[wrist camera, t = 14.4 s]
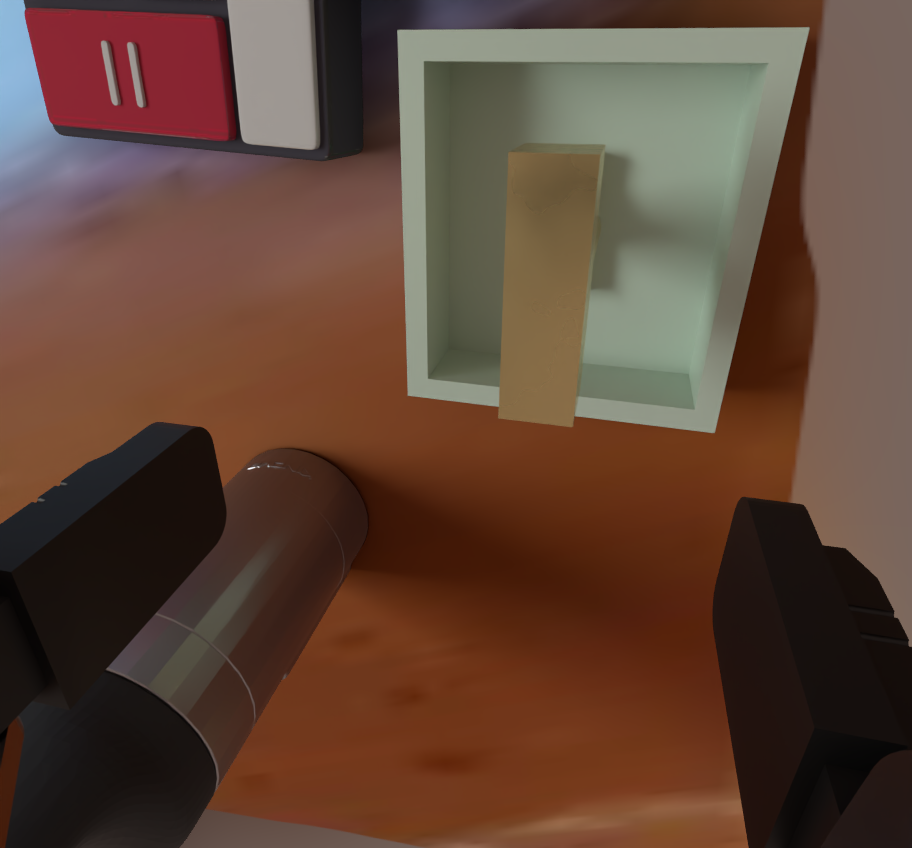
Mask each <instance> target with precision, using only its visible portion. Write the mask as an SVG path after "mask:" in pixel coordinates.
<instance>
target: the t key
mask: <svg viewBox="0 0 912 848" xmlns="http://www.w3.org/2000/svg"><path fill="white" fill-rule="evenodd" d="M605 147H606V145H603V144H559V143H524V144H522V145H521V146H519V147H517V148H515V149H513V150H511V151H509V152H508V176H507V203H506V230H505V256H504V283H503V309H502V336H501V363H500V389H499V416H498V418H500V419H509V420H517V421H525V422H534V423H542V424H551V425H559V426H568V427H573V423H574V418H575V413H576V408H577V403H578V397H579V392H580V386H581V377H582V367H583V357H584V348H585V338H586V329H587V319H588V310H589V300H590V290H591V281H592V271H593V262H594V256H595V253H596V249H597V245H598V241H599V237H600V233H601V221H600V218H599V216H598V214H599V204H600V195H601V185H602V175H603V166H604V156H605Z"/></svg>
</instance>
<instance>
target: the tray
mask: <svg viewBox="0 0 912 848" xmlns="http://www.w3.org/2000/svg"><path fill="white" fill-rule="evenodd" d="M809 28H810V27H801V28H631V29H462V30H397V35H398V69H399V103H400V138H401V172H402V207H403V241H404V275H405V310H406V344H407V379H408V396H416V397H424V398H432V399H440V400H449V401H457V402H465V403H473V404H481V405H489V406H498V407H499V389H500V363H501V336H502V309H503V283H504V256H505V230H506V203H507V176H508V152H509V151H511V150H513V149H515V148H517V147H519V146H521V145H522V144H524V143H559V144H603V145H606V147H605V156H604V166H603V175H602V185H601V195H600V204H599V214H598V216H599V218H600V221H601V233H600V237H599V241H598V245H597V249H596V253H595V256H594V262H593V271H592V281H591V290H590V300H589V310H588V319H587V329H586V338H585V348H584V357H583V367H582V377H581V386H580V392H579V397H578V403H577V408H576V413H575V416H579V417H587V418H595V419H604V420H612V421H620V422H628V423H636V424H644V425H653V426H661V427H669V428H677V429H685V430H693V431H702V432H710V433H715V429H716V424H717V420H718V416H719V412H720V407H721V403H722V399H723V395H724V390H725V386H726V382H727V378H728V373H729V369H730V365H731V360H732V356H733V352H734V348H735V343H736V339H737V335H738V331H739V326H740V322H741V318H742V314H743V309H744V305H745V301H746V297H747V292H748V288H749V284H750V280H751V275H752V271H753V267H754V262H755V258H756V254H757V250H758V245H759V241H760V237H761V233H762V228H763V224H764V220H765V216H766V211H767V207H768V203H769V199H770V194H771V190H772V186H773V182H774V177H775V173H776V169H777V164H778V160H779V156H780V152H781V147H782V143H783V139H784V135H785V130H786V126H787V122H788V118H789V113H790V109H791V105H792V101H793V96H794V92H795V88H796V84H797V79H798V75H799V71H800V66H801V62H802V58H803V54H804V49H805V45H806V41H807V37H808V32H809Z"/></svg>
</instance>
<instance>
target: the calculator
mask: <svg viewBox="0 0 912 848" xmlns="http://www.w3.org/2000/svg"><path fill="white" fill-rule="evenodd" d="M24 4H25V8H26V10H25V19H26V24H27V28H28V32H29V37H30V41H31V45H32V49H33V54H34V58H35V62H36V66H37V71H38V75H39V79H40V83H41V88H42V92H43V96H44V101H45V105H46V109H47V113H48V117H49V120H50V122H51V123H52V124H53V127H54V129H55V130H56V131H57V132H58V133H59V134H61V135H64V136H73V137H83V138H94V139H104V140H114V141H124V142H134V143H144V144H154V145H164V146H174V147H184V148H195V149H205V150H215V151H225V152H235V153H245V154H255V155H265V156H275V157H286V158H296V159H306V160H316V161H327V160H332V159H337V158H342V157H346V156H351V155H355V154H358V153H360V152H361V151H362V148H363V98H362V44H361V0H24Z"/></svg>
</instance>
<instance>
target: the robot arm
mask: <svg viewBox="0 0 912 848" xmlns="http://www.w3.org/2000/svg"><path fill="white" fill-rule="evenodd" d="M367 531H368V515H367V512H366V508H365V505H364V502H363V500H362V498H361V496H360V494H359V492H358V491H357V489H356V488H355V487H354V485H353V484H352V483H351V481H350V480H349V479H348V478H347V477H346V476H345V475H344V474H343V473H342V472H341V471H340V470H338V469H337V468H336V467H335V466H333V465H332V464H330V463H329V462H327V461H325V460H324V459H322V458H320V457H317V456H315V455H313V454H311V453H308V452H304V451H300V450H295V449H275V450H269V451H266V452H264V453H262V454H259V455H257V456H256V457H255V458H253V459H252V460H251V461H250V462H249V463H248V464H247V465H246V466H245V467H243V468H242V469H241V470H240V471H239V472H238V473H237V474H236V475H235V476H234V477H233V478H232V479H231V480H230V481H229V482H228V483H227V484H226V485H225V486H224V487H223V488H222V483H221V478H220V473H219V469H218V464H217V459H216V454H215V449H214V444H213V440H212V438H211V435H210V434H209V432H208V431H207V430H206V429H204V428H202V427H196V426H188V425H180V424H172V423H164V422H156V423H153V424H151V425H149V426H148V427H146V428H145V429H144V430H142V431H141V432H139V433H138V434H137V435H135V436H134V437H132V438H131V439H130V440H128V441H127V442H125V443H124V444H123V445H121V446H120V447H119V448H117V449H116V450H114V451H113V452H111V453H109V454H107V455H104V456H102V457H100V458H97V459H95V460H93V461H91V462H88V463H87V464H85V465H84V466H82V467H81V468H80V469H78V470H77V471H75V472H74V473H72V474H71V475H70V476H68V477H67V478H65V479H64V480H62V481H61V484H60V486H54V487H53V488H51V489H50V490H48V491H47V492H45V493H44V494H43V495H41V496H40V497H38V501H37V503H34V502H31V503H30V504H28V505H27V506H26V507H24V508H23V509H21V510H20V511H18V512H17V513H16V514H14V515H13V516H11V517H10V518H9V519H7V520H6V521H4V522H3V523H1V524H0V848H179V847H180V846H181V845H182V844H183V843H184V841H185V840H186V839H187V837H188V836H189V834H190V833H191V831H192V830H193V828H194V827H195V825H196V823H197V822H198V820H199V818H200V817H201V815H202V813H203V811H204V810H205V808H206V807H207V805H208V803H209V802H210V800H211V798H212V797H213V795H214V792H215V791H216V789H217V788H218V786H219V785H220V783H221V781H222V779H223V778H224V776H225V774H226V773H227V771H228V769H229V768H230V766H231V764H232V763H233V761H234V759H235V758H236V756H237V754H238V753H239V751H240V749H241V748H242V746H243V744H244V743H245V741H246V739H247V738H248V736H249V734H250V733H251V731H252V729H253V727H254V725H255V724H256V722H257V720H258V719H259V717H260V715H261V714H262V712H263V710H264V709H265V707H266V705H267V704H268V702H269V700H270V699H271V697H272V695H273V694H274V692H275V690H276V689H277V687H278V685H279V684H280V682H281V680H283V679H284V678H286V677H287V676H288V675H289V673H290V671H291V670H292V668H293V666H294V664H295V663H296V661H297V659H298V658H299V656H300V654H301V653H302V651H303V649H304V648H305V646H306V644H307V643H308V641H309V639H310V637H311V636H312V634H313V632H314V631H315V629H316V627H317V626H318V624H319V622H320V621H321V619H322V617H323V615H324V614H325V612H326V610H327V609H328V607H329V605H330V604H331V602H332V600H333V599H334V597H335V595H336V594H337V592H338V590H339V588H340V587H341V585H342V583H343V582H344V580H345V578H346V577H347V575H348V573H349V572H350V570H351V564H352V562H353V560H354V559H355V557H356V555H357V554H358V552H359V550H360V549H361V547H362V545H363V543H364V541H365V539H366V535H367ZM713 630H714V636H715V643H716V649H717V655H718V661H719V667H720V673H721V680H722V686H723V692H724V698H725V704H726V710H727V717H728V723H729V729H730V735H731V741H732V747H733V753H734V760H735V766H736V772H737V778H738V784H739V790H740V797H741V803H742V809H743V815H744V821H745V827H746V834H747V840H748V846H749V848H912V647H909V646H908V641H909V639H908V637H907V635H906V633H905V631H904V629H903V627H902V625H901V623H900V622H899V619H898V618H894V610H893V608H892V606H891V604H890V602H889V600H888V598H887V596H886V594H885V592H884V590H883V588H882V586H881V584H880V582H879V580H878V579H877V577H875V576H874V575H873V574H872V573H871V572H870V571H869V570H868V569H867V568H866V567H865V566H864V565H863V564H862V563H860V562H859V561H858V560H857V559H856V558H855V557H854V556H853V555H852V554H851V553H850V552H849V551H848V550H846V549H845V548H838V547H831V546H824V545H822V543H821V541H820V539H819V537H818V534H817V532H816V530H815V527H814V525H813V522H812V520H811V518H810V515H809V513H808V511H807V509H806V507H805V506H804V505H802V504H796V503H788V502H780V501H772V500H764V499H756V498H748V497H742V498H740V500H739V501H738V503H737V506H736V508H735V512H734V515H733V519H732V523H731V527H730V531H729V535H728V538H727V542H726V546H725V550H724V554H723V558H722V562H721V565H720V569H719V573H718V577H717V581H716V585H715V591H714V598H713Z"/></svg>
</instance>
